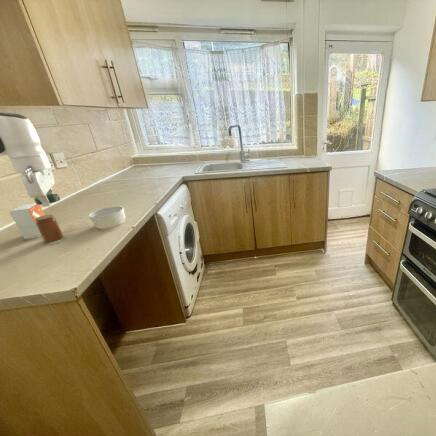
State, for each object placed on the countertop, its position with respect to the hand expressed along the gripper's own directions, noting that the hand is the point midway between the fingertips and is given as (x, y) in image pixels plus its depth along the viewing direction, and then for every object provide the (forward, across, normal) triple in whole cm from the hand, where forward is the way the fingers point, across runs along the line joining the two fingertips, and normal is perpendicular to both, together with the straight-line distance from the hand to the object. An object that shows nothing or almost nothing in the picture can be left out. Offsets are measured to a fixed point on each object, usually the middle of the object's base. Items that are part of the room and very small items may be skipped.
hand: (49, 202), depth 88 cm
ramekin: (+19, +15, -14) cm, 28 cm away
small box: (+19, +23, +13) cm, 32 cm away
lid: (-2, 0, 0) cm, 2 cm away
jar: (+19, +11, +6) cm, 23 cm away
